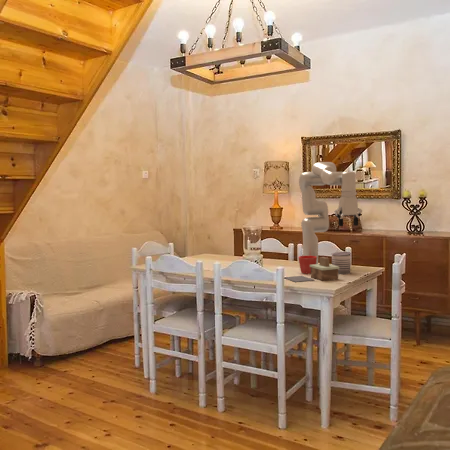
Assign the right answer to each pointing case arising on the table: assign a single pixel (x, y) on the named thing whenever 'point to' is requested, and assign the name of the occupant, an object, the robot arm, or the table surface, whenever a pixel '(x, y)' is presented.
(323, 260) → the lid
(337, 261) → the can
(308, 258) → the flower pot
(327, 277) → the box
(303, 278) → the mat
